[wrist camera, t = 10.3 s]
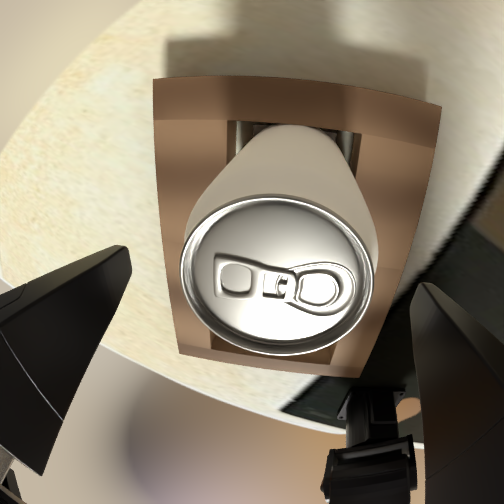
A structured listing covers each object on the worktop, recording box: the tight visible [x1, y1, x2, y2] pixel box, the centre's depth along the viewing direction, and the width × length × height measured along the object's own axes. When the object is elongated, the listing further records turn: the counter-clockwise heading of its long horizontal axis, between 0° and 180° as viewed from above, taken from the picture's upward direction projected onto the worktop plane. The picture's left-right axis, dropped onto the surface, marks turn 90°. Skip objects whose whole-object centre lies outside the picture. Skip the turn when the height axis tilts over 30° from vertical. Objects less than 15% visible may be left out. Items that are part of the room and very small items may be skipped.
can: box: [179, 123, 378, 356], centre depth 14 cm, size 6×6×12 cm
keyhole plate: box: [153, 76, 442, 378], centre depth 21 cm, size 22×16×2 cm
